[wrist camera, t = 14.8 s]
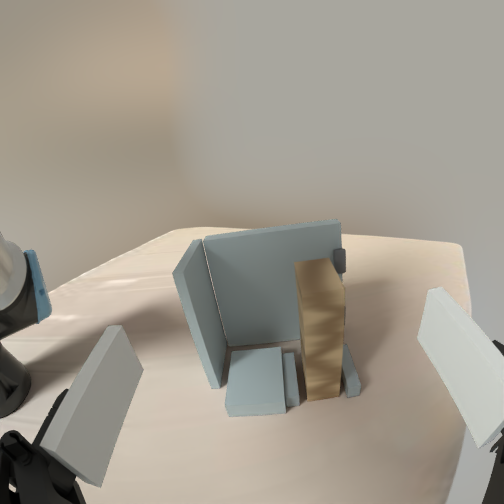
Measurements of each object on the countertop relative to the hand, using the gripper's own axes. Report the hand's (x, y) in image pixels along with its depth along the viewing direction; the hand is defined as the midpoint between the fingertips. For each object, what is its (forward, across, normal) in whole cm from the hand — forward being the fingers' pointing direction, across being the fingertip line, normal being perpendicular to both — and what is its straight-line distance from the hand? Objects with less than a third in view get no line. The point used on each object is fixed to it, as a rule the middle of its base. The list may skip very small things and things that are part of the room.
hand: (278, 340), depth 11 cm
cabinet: (+19, 0, -22) cm, 29 cm away
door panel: (+16, +5, -22) cm, 28 cm away
